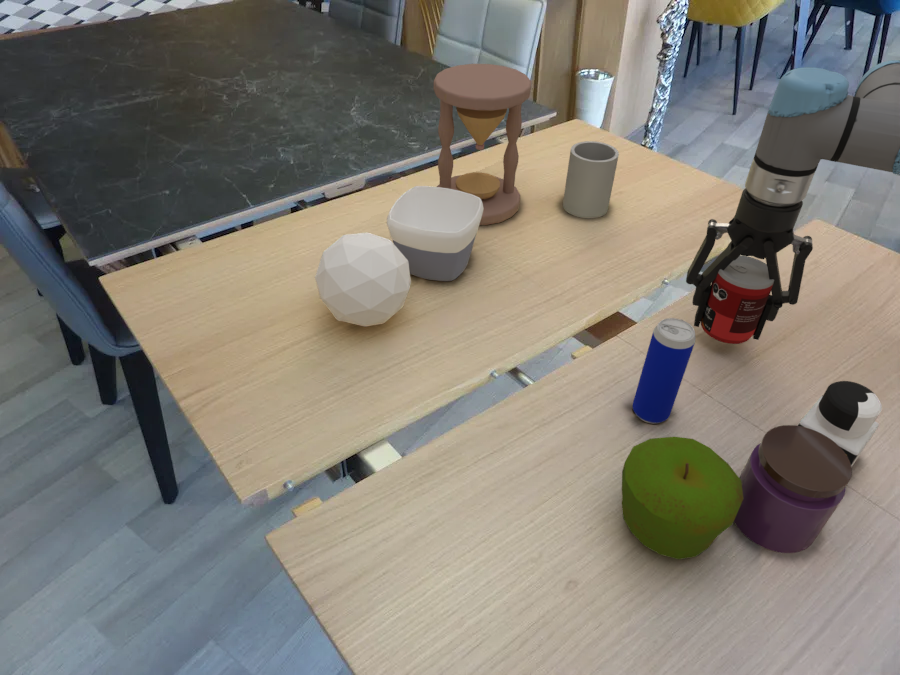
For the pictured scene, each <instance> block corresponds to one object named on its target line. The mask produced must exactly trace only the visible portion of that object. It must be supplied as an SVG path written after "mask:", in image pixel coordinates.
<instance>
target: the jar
mask: <svg viewBox="0 0 900 675" xmlns="http://www.w3.org/2000/svg"><path fill="white" fill-rule="evenodd" d="M852 467H853V466H852ZM852 467H851V463H850V461H849V459H848V457H847V455H846V454H845V452H844V451H843V450H842V449H841V448H840V447H839V446H838V445H837V444H836V443H835V442H834V441H832V440H831V439H830V438H828V437H827V436H825V435H823V434H821V433H819V432H817V431H815V430H812V429H809V428H806V427H801V426H798V425H793V424H785V425H778V426H776V427H773V428H771V429H770V430H768V431H767V432H766V433H765V434H764V435H763V438H762V439H761V442H759V443H758V444H757V445H755V447H753V449H752V451H751V453H750V454H749V457H748V459H747V461H746V462H745V465H744V467H743V469H742V472H741V473H740V476H738V477H739V478H740V480H741V483H742V491H743V501H742V503H741V506H740V508H739V510H738V513H737V515H736V517H735V520H734V522H733V524H734V525H735V526H736V528H737V529H738V530H739V531H740V532H741V533H742V534H743V535H744V536H745V537H746V538H747V539H748V540H750V541H752V542H753V543H754V544H756V545H758V546H759V547H761V548H764V549H766V550H769V551H772V552H776V553H780V554H795V553H801V552H803V551H805V550H807V549H808V548H810V547H811V546H812V545H813V544H814V542H815V541H816V540H817V538H818V536H819V535H820V534H821V532H822V530H823V529H824V528H825V526H826V525H827V523H828V521H829V520H830V518H831V517H832V515H833V514H834V513H835V511H836V509H837V508H838V506H839V505H840V504H841V502H842V500H843V499H844V497H845V495H846V489H847V485H848V484H849V482H850V481H851V478H852V475H853V468H852Z"/></svg>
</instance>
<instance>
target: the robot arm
mask: <svg viewBox="0 0 900 675" xmlns="http://www.w3.org/2000/svg"><path fill="white" fill-rule="evenodd" d="M849 87H850V83H849V80H848V78H847V77H846V76H845V75H843V74H842V73H839V72H836V71H830V70H828V69H826V68H820V67H809V66H808V67H798V68H794V69H791V70H789V71H787V72H785V73H784V74H783V75H782V76H781V78H780V79H779V81H778V84H777V86H776V89H775V91H774V94H773V97H772V99H771V102H770V105H769V107H768V110H767V114H766V117H765V120H764V123H763V126H762V129H761V133H760V137H759V139H758V143H757V146H756V149H755V153H754V156H753V158H752V161H751V165H750V167H749V171H748V173H747V176H746V180H745V183H744V189H742V193H741V195H740V198H739V202H738V205H737V208H736V211H735V214H734V216H733V218H731V220H730V221H728V222H718V221H717V220H716V219H713V218H711V219H710V220H708V222H707V227H706V234H705V237H704V239H703V241H702V242H701V245H700V247H699V248H698V251H697V252H696V254H695V256H694V258H693V260H692V262H691V264H690V265H689V267H688V269H687V272H686V278H685V282H686V284H687V285H693V286H694V287H695V290H694V292H693V293H694V294H693V295H692V306H696V307H697V309H696V312H695V316H694V321H693V327H695V328H699V327H700V326H701V319H702V316H703V313H704V310H705V306H706V303H707V300H708V297H709V294H710V286H711V283H712V282H713V281H714V280H715V279H716V277H717V274H718V272H719V270H720V269H721V270H723V271H724V269H725V268H726V267H727V266H728V265H729V264H730V263H731V262H732V261H735V260H736V259H737V258H738V257H739V256H747V257H753V258H755V259H758V260H765V263H766V264H767V267H768V274H769V280H770V279H773V280H774V284H773V286H772V289H771V292H770V293H771V294H770V295H769V297H768V300H767V302H766V305H765V307H764V310H763V312H762V315H761V317H760V320H759V322H758V325H757V327H756V330H755V332H754V334H753V336H752V339H753V340H755V341H759V339H760V337H761V335H762V332H763V330H764V327H765V325H766V322H767V321H768V322H773V321H775V319H776V317H777V315H778V313H779V310H780V309H781V308H782V307H783V304H789V305H792V306H793V305H796V304H797V303H798V301H799V295H800V291H801V285H802V281H803V276H804V269H805V266H806V260H807V259H808V258H809V255H810V254H811V253H812V251H813V249H814V247H813V238H812V236H810V235H805V236H803V237H802V236H800V235H797V234H795V232H794V228H795V225H796V224H797V221H798V218H799V216H800V213H801V211H802V208H803V204H804V202H803V201H804V200H805V199H806V197H807V196H808V195H807V194H808V193H809V190H810V186H811V185H812V181H813V179H814V176H815V173H816V171H817V169H818V167H819V164H820V162H821V161H822V160H824V161H830V162H835V163H841V164H847V165H852V166H857V167H862V168H867V169H871V170H878V171H883V172H887V173H892V174H893V175H900V60H899V59H897V60H895V59H894V60H892V59H891V60H886V61H883V62H880V63H878V64H876V65H874V66H873V67H871V68H870V69H869V70H867V71H866V72H865V73H864V75H862V77H861V78H860V79H859V82H858V83H857V87H856V90H855V92H854V95H851V94H849V91H848V90H849ZM726 233H727V235H728V236H729V239H730V242H729V243H728V244H727V246H726V247H725V248H724V250H723V251H722V252H721V253H720V254H719V255H718V256H717V257H716V258H715V259H714V260H713V261H712V263H711V264H709V265H708V266H707V268H705V270H703V272H702V273H701V271H702V269H703V267H704V265H705V263H706V261H707V260H708V258H709V256H710V254H711V252H712V250H713V248H714V246H715V244H716V241H719V240H720V239H721V238H722V237H723V235H724V234H726ZM790 245H791V246H792V252H793V253H794V255H793V260H792V266H791V272H790V277H789V283H788V288H787V290H783V287H782V281H781V275H780V274H781V273H780V268H779V262H778V252H781V251H782V250H784V249H785V248H787V247H788V246H790Z"/></svg>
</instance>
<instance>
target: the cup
mask: <svg viewBox="0 0 900 675" xmlns="http://www.w3.org/2000/svg"><path fill="white" fill-rule="evenodd" d="M619 156H620V153H619V151H618V149H617V148H616V147H614V146H613V145H611V144H608V143H605V142H602V141H596V140H595V141H594V140H585V141H580V142H577V143H575V144H573V145H571V147H570V151H569V159H568V166H567V172H566V179H565V185H564V193H563V200H562V208H563V210H564V211H565V212H566V213H567V214H570V215H572V216H574V217H577V218H582V219H598V218H601V217H603V216H605V215H606V214H607V213H608V210H609V207H610V201H611V197H612V192H613V185H614V180H615V176H616V171H617V165H618V160H619Z"/></svg>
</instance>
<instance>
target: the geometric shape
mask: <svg viewBox="0 0 900 675" xmlns="http://www.w3.org/2000/svg"><path fill="white" fill-rule="evenodd" d="M314 280H315V284H316V288H317V292H318V295H319V299H320V300H321V302H322V303H323V305H325V307H326V308H327V309H328V310H329V312H330V313H331V314H332V316H333V317H334V318H335V319H336V320H337V321H339V322H344V323H348V324H353V325H357V326H361V327H370V326H377V325H383V324H385V323H387V321H389V320H390V319H391V318H392V317H393V316H395V314H397V313H398V312H399V311H400V310H401V309H402V308H403V307H404V305H405V303H406V300H407V297H408V294H409V292H410V289H411V284H412V278H411V274H410V271H409V263H408V260H407V259H406V258H405V256H404V255H403V254H402V253H401V252H400V251H399V250H398V248H397V247H396V246H395V245H394V243H393V240H392V239H389V238H387V237H383V236H380V235H377V234H374V233H370V232H358V233H348V234H343V235H342V236H340V237H339V238H338V239H337V240H335V241H334V242H333V243H332V244H331V245H330V246H328V247H327V248H325V249H324V251H322V254H321V256H320V259H319V264H318V266H317V269H316V274H315V276H314Z"/></svg>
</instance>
